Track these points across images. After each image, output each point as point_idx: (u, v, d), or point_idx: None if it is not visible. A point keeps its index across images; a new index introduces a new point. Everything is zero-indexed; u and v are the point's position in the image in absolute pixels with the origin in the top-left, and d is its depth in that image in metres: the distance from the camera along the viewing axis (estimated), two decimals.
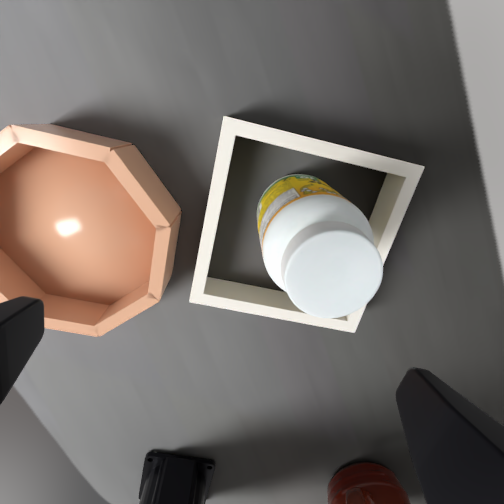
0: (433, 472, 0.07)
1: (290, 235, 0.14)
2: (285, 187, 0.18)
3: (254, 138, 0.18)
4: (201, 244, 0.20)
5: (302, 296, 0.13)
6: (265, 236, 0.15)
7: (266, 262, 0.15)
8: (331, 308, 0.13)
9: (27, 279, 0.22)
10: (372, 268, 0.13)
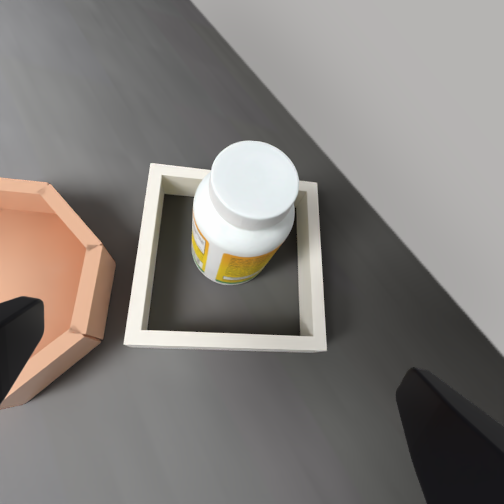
0: (433, 472, 0.07)
1: None
2: None
3: (177, 175, 0.21)
4: (136, 270, 0.19)
5: (233, 197, 0.14)
6: (194, 199, 0.16)
7: (198, 217, 0.16)
8: (264, 206, 0.14)
9: None
10: (286, 167, 0.15)
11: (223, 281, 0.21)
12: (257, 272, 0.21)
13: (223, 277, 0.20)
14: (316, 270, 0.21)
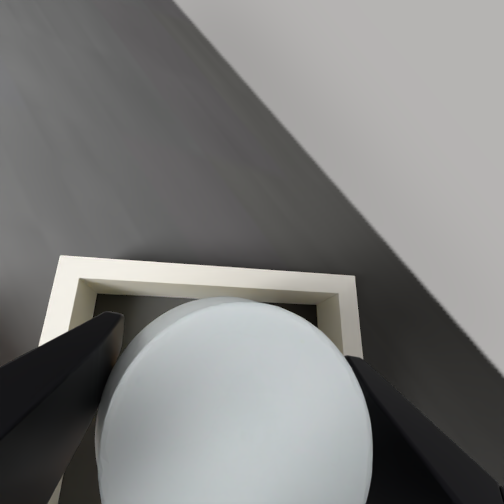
0: None
1: None
2: None
3: (110, 277, 0.12)
4: None
5: None
6: (99, 407, 0.07)
7: None
8: None
9: None
10: (333, 385, 0.05)
11: None
12: None
13: None
14: None
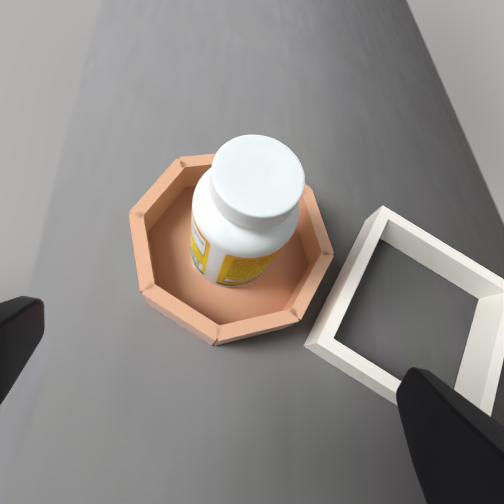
0: (433, 472, 0.07)
1: None
2: None
3: (400, 225, 0.24)
4: (345, 287, 0.21)
5: (235, 194, 0.13)
6: (193, 198, 0.16)
7: (198, 217, 0.15)
8: (269, 204, 0.13)
9: (154, 270, 0.21)
10: (290, 162, 0.14)
11: (224, 283, 0.20)
12: (259, 273, 0.20)
13: (224, 279, 0.19)
14: (495, 368, 0.21)
